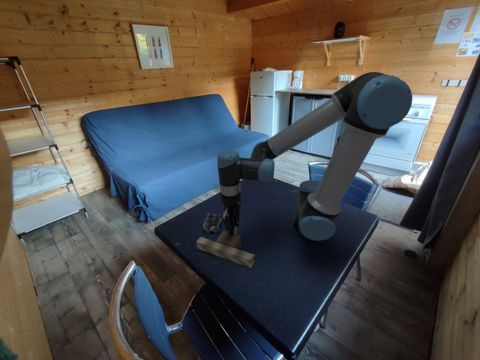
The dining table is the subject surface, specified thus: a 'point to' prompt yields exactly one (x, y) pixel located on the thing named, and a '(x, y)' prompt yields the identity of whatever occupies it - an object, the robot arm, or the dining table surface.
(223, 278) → the dining table surface
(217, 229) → the egg carton
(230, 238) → the block
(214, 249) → the board
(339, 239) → the dining table surface
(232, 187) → the robot arm
